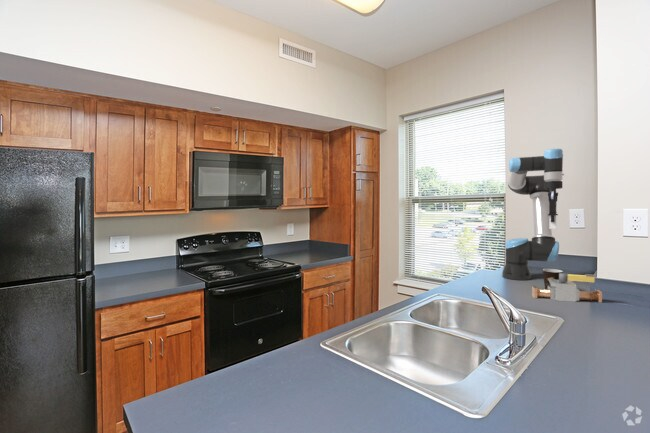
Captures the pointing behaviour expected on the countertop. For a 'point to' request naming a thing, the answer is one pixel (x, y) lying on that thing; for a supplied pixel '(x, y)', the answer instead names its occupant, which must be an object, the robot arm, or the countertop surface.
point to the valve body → (566, 292)
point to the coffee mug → (550, 276)
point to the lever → (576, 277)
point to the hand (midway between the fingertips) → (552, 228)
